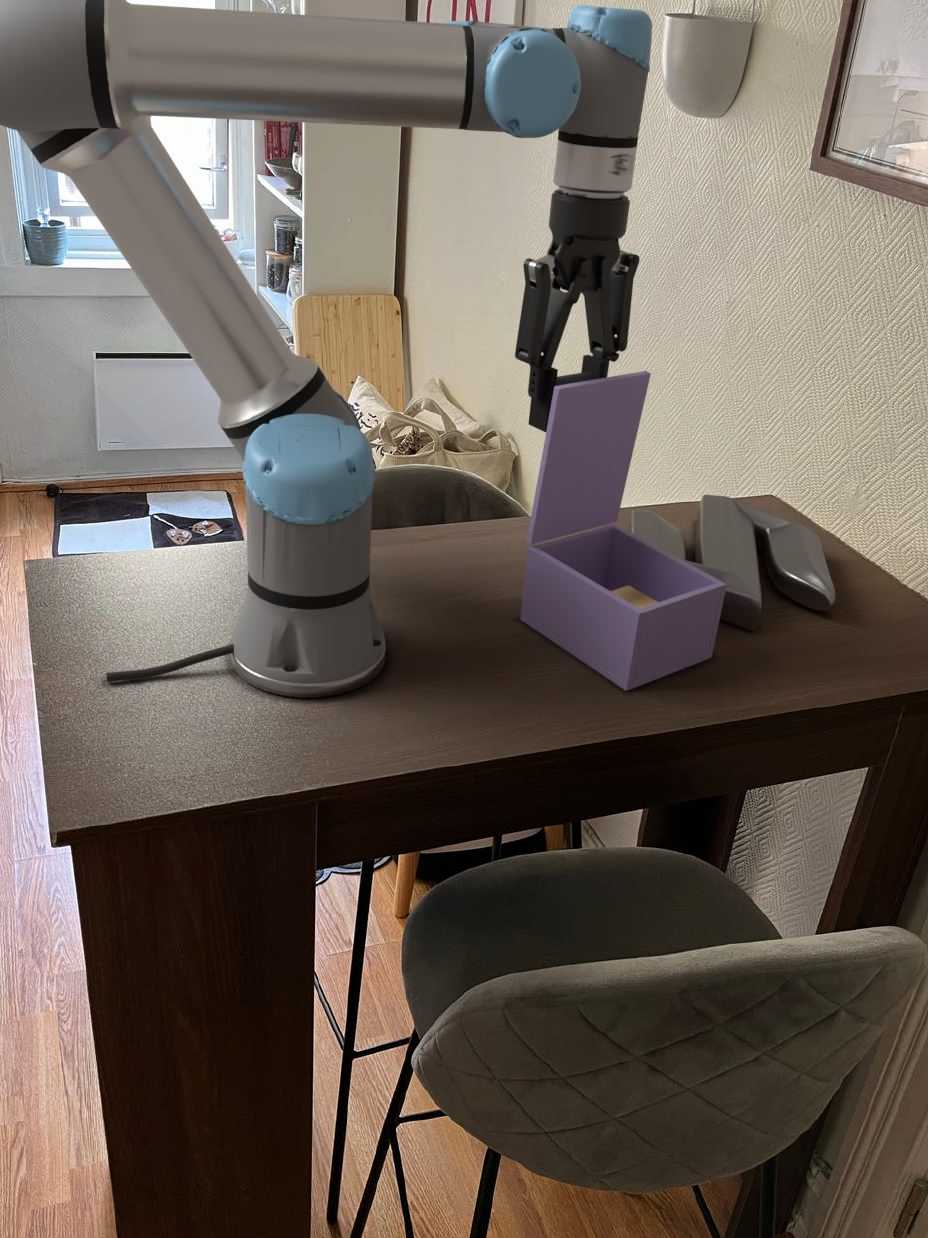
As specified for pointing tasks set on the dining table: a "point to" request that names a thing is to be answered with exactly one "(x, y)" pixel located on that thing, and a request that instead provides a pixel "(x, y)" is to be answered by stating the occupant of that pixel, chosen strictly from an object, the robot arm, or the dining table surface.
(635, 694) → the dining table surface
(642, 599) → the beech block
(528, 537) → the file box lid
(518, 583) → the dining table surface
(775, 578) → the emblem
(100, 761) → the dining table surface
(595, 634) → the box
